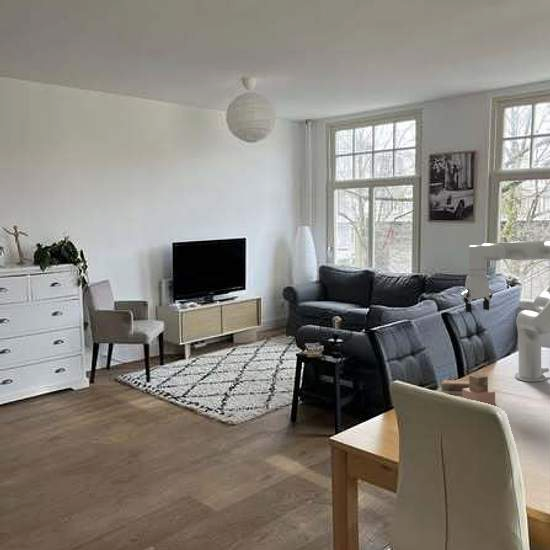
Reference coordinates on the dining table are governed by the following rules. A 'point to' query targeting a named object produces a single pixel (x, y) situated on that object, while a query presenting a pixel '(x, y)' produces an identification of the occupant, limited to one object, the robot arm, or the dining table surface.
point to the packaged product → (453, 386)
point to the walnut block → (478, 383)
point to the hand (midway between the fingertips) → (477, 310)
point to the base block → (479, 395)
